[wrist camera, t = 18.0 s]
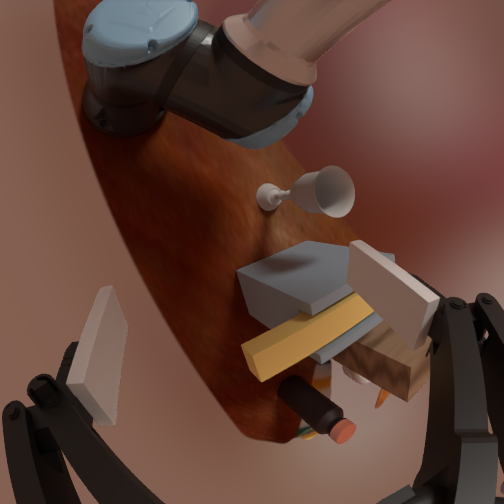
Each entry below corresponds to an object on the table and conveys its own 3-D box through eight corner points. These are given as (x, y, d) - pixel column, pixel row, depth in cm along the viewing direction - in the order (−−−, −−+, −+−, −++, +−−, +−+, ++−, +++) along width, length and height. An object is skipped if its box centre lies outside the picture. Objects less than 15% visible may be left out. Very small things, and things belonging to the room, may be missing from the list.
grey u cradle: (235, 270, 50) (310, 304, 31) (307, 240, 56) (394, 254, 37) (249, 314, 52) (321, 364, 33) (315, 281, 58) (397, 308, 39)
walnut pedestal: (301, 314, 58) (411, 367, 33) (348, 287, 63) (453, 319, 38) (308, 343, 60) (407, 402, 35) (352, 315, 65) (449, 354, 40)
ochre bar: (240, 344, 31) (252, 355, 28) (379, 266, 40) (394, 270, 37) (250, 370, 32) (261, 382, 29) (382, 290, 41) (396, 294, 38)
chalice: (288, 183, 52) (357, 174, 36) (282, 218, 53) (351, 222, 37) (253, 174, 49) (317, 158, 33) (247, 211, 49) (310, 211, 33)
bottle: (306, 382, 61) (364, 425, 44) (288, 402, 60) (341, 450, 42) (292, 370, 59) (352, 416, 41) (272, 392, 57) (326, 444, 39)
